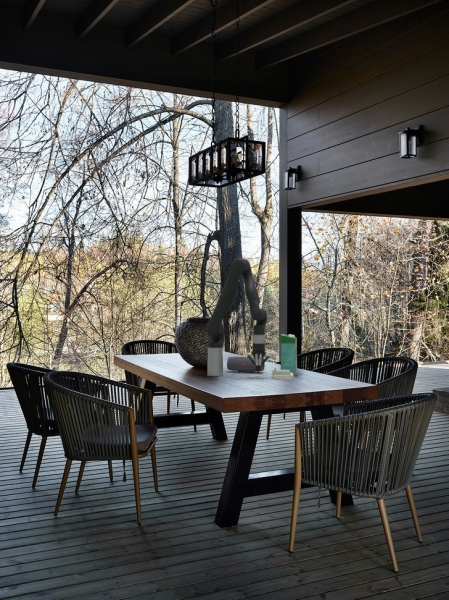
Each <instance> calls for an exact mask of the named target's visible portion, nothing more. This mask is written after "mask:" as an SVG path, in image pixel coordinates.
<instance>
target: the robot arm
mask: <svg viewBox="0 0 449 600" xmlns="http://www.w3.org/2000/svg"><path fill="white" fill-rule="evenodd" d="M240 277H242V280H243V282H244V294H245V297H246V300H247V302H248V306H249V313H250V317H251V319H253V321H255V324H254V325H253V329H252V347H251V349H252V351H251V354H248V356H247V357H248V358H249V359H250V360H251V362H252V363H253V364H255V365H256V371H257V372H258V373H259V372H261V371H260V370H261V365H263V364H264V363H266V362H267V360H269V358H270V356H269V355H267V353H266V324H267V321H268V313H267V311H266V309H264V308H261V307H260V304H261V298H260V295H259V292H258V291H257V287H256V284H255V281H254V275H253V272H252V266H251V263H250V261H249V260H248V259H247V258H242V257H236V258H234V260H233V261H232V262H231V265H230V269H229V272H228V274H227V278H226V280H225V283H224V286H223V287H222V290H221V292H220V295H219V297H218V299H217V302H216V304H215V307H214V309H213V313H212V314H211V316H210V318H209V320H208V321H207V324H206V325H205V333H206V335H207V336H208V337H210V339H209V341H208V343H207V376H209V377H221V376H224V357H223V356H224V342H225V326H224V324H223V323H222V322H223V319H224V317H225V316H226V314H227V313H229V310H230V309H231V308H232V307H233V305H234V302H235V300H236V298H237V294H238V282H239V280H240ZM252 357H254V359H256V362H254V360H253V359H252ZM263 358H264V361H263V362H261V359H263ZM258 359H259V365H258ZM257 372H256V373H257Z"/></svg>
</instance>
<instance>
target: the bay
mask: <svg viewBox="0 0 449 600" xmlns="http://www.w3.org/2000/svg"><path fill="white" fill-rule="evenodd" d="M273 380H274V381H275V380H276V381H277V380H278V381H282V380H283V381H294V376H293V373H290V375H274V379H273Z"/></svg>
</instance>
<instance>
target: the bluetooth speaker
mask: <svg viewBox="0 0 449 600" xmlns="http://www.w3.org/2000/svg"><path fill="white" fill-rule="evenodd" d="M252 359H253V360H254V362H256V359H254V357H253V356H252ZM264 359H265V357H263V359H261V362H263V361H264ZM226 361H227V362H226V369H227V370H228V371H232V372H233V371H235V372H237V373H239V374H240V373H242V374H254V373H255V372H256V373H257V371H256V365H255V364H253V363H252V362H251V360H250V359H249V358H248V356H228V358H227V360H226ZM265 363H266V362H265ZM265 363H264V364H263V365H261V370H260V372H263V371H265V367H266V366H265V365H266V364H265ZM258 365H259V359H258Z"/></svg>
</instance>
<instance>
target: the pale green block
mask: <svg viewBox="0 0 449 600" xmlns="http://www.w3.org/2000/svg"><path fill="white" fill-rule="evenodd" d="M271 371H272V372H271V373H272V374H271V375H272V376H271V379H272V380H274V375H290V370H281V369H277V367H275V368H274V369H272V370H271Z"/></svg>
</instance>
